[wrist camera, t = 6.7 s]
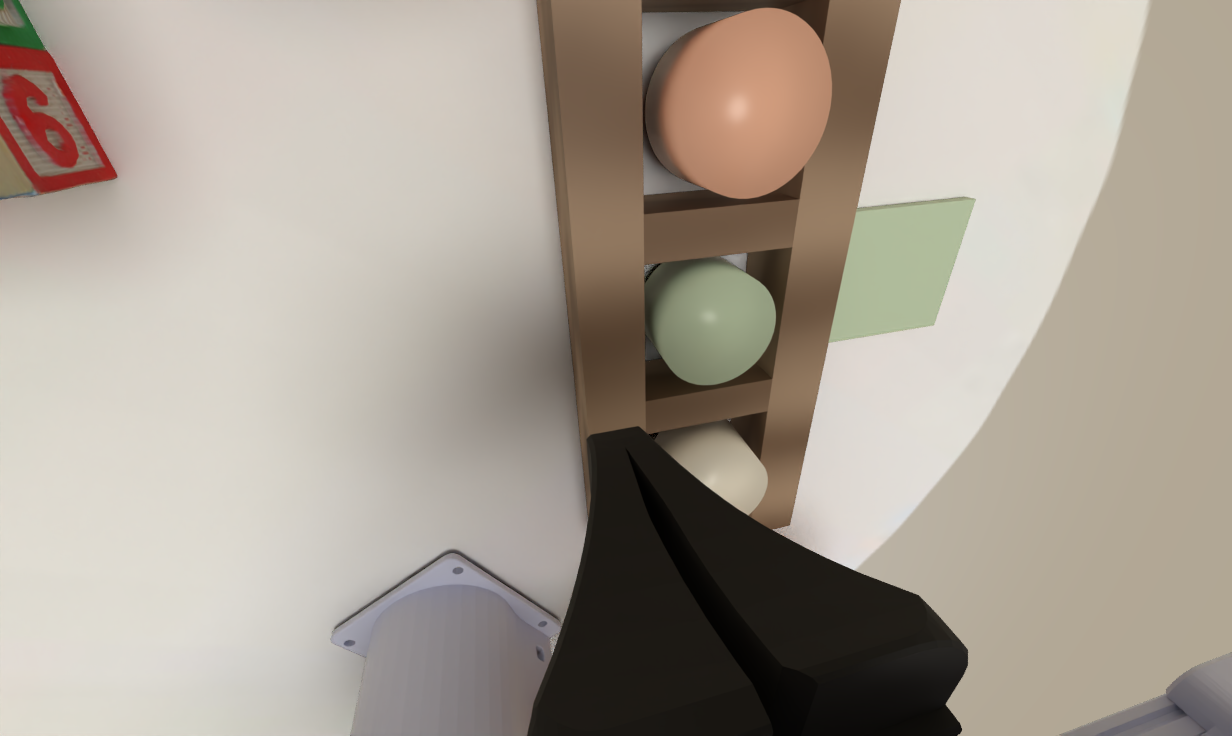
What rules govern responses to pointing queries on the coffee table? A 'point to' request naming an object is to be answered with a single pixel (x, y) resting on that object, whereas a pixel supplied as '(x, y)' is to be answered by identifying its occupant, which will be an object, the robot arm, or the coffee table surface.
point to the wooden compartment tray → (701, 229)
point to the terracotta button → (740, 102)
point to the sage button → (707, 318)
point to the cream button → (719, 461)
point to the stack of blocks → (40, 118)
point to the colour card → (898, 266)
